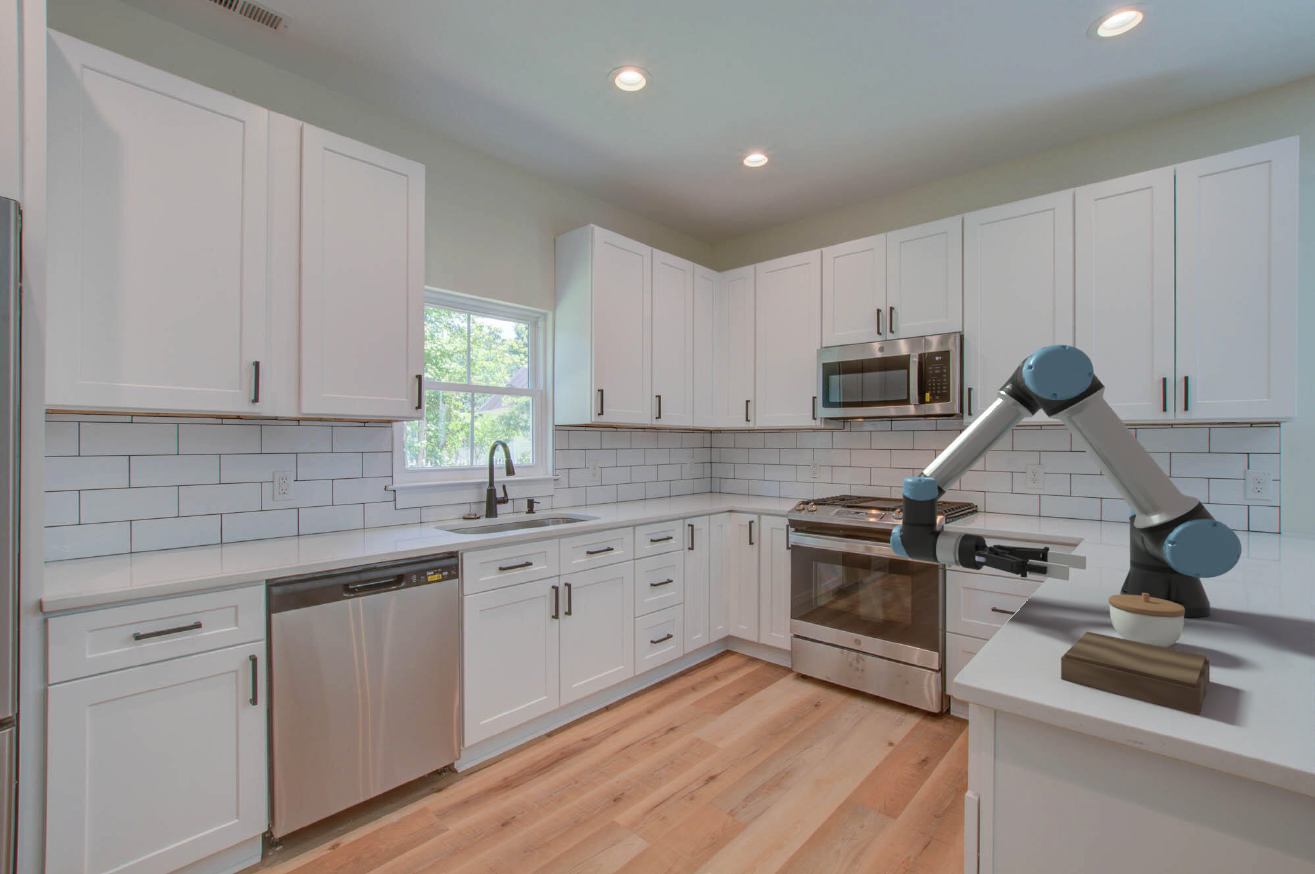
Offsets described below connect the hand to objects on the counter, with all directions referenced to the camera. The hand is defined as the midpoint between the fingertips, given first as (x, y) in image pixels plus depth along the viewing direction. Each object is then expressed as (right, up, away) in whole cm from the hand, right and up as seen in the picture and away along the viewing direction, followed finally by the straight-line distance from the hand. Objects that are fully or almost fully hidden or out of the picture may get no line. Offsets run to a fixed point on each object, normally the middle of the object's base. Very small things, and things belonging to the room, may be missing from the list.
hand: (1077, 567), depth 114 cm
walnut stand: (-8, -13, -23) cm, 27 cm away
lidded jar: (+7, -13, -7) cm, 16 cm away
